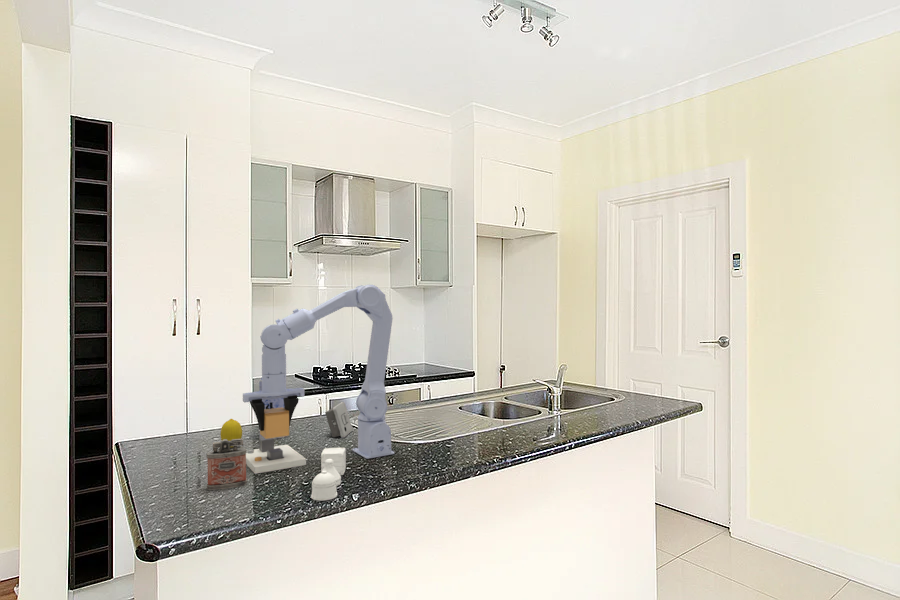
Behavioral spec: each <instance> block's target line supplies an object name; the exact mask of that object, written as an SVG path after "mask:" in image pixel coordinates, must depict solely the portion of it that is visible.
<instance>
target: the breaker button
mask: <svg viewBox="0 0 900 600" xmlns="http://www.w3.org/2000/svg"><path fill="white" fill-rule="evenodd" d="M282 458H283V451H282V450H281V449H280V448H276V449H270V450H267V459H268V460H269V461H270V460H276V459H282Z"/></svg>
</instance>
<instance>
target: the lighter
mask: <svg viewBox="0 0 900 600" xmlns="http://www.w3.org/2000/svg"><path fill="white" fill-rule="evenodd" d="M230 446H234V447H233V448H231V447H230ZM238 446H244V439H243V438H241V439H233V440H232V441H228V440H227V439H223V440H220V441H216V442H215V441H214V442H212V451H209V452H207V453H206V459H207V484H206V490H209V491H212V490H224V489H225V490H226V489H231V488H237V487H243V486H246V485H247V484H248V479H247V464H246V453H247V450H248V449H247V448H245V447H243V448H241V447H240V448H238ZM218 448H219V449H218Z"/></svg>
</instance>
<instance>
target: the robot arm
mask: <svg viewBox="0 0 900 600" xmlns="http://www.w3.org/2000/svg"><path fill="white" fill-rule="evenodd" d="M344 308H357V309H359V310H360V311H362V312H364V314H366V315H367V317H368V318H369V319H370V320H371V322H372V326H371V331H370V332H371V333H370V334H371V335H370V340H369V346H368V347H369V348H368V356H367V362H366V363H367V364H366V369H365V370H366V371H365V377H364V381H363V384H362V385H361V389H360V393H359V394H358V396H356V397H357V398H356V402H355V404H356V408H357V410H358V411H359V415H358V416H357V442H358V443H357V447H354V448H352V450H351V451H352V452H354V453H356V454H357V455H359V456H361V457H363V458H365V459H373V458H374V459H375V458H380V457H385V456H389V455H395V451H394V450H392V431H391V430H392V429H391V427H390V425H389V424H387V422H386V414H387V411H388V402H387V400H386V396H387V395H386V394H387V393H386V392H387V391H386V387H385V377H386V370H387V364H388V356H389V349H390V348H389V347H390V342H391V341H390V340H391V333H392V325H393V319H394V317H393V314H392V311H391V308H390V307H389V303H388V301H387V299H386V294H385V292H383V291H382V289H380V288H379V287H378V286H377V285H375V284H370V283H369V284H365V285H362V284H360V285H357V286H356V287H355V288H350V289H348V290H347V289H346V291H342V292H340V293H338V294H336V295H334V296H333V297H331V298H329V299H328V300H326V301H324V302H322V303H320V304H318V305H317V306H315V307H313V308H311V309H310V310H309V309H306V308H301V309H299V308H295V309H293V310H292V313H290V314H289V315H287V316H285V317H283V318H281V319H280V318H277V319H275V321H274V322H275V323H276V324H268V325H266V326H265V327H264V328H263V329H262V331H261V334H260V341H261V343H262V347H261V351H262V355H261V379H262V391H259V390H258V391H251V392H245V393H242V402H244V403H249V404H250V406H251V408H252V410H253V412H254V415H255V418H256V421H257V425H258V430H259V432H260V431H264V407H265V404H264V403H263V401H262V400H269V399H278V398H283V400H284V408H285V409H286V410H288V411H289V428H290V427H291V422H292V419H293V414H294V412H295V409H296V407H297V405H298V404H299V400H300V398H298V397H305V388H303V387H295V388H293V387H291V388H290V387H289V388H287V354H286V344H287V342H288V340H289V341H292V340H294V339H296V338H298V337H299V336H301V335H303V334H306V333H307V332H308V331H311V330H313V329H314V327H315V324H316V322H318V320H321V319H322V318H326V317H327V316H329V315H331V314H333V313H335V312H337V311H340V310H341V309H344ZM281 395H283V396H281ZM268 396H274V397H268Z"/></svg>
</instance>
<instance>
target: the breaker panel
mask: <svg viewBox="0 0 900 600" xmlns="http://www.w3.org/2000/svg"><path fill="white" fill-rule="evenodd" d="M276 448H280V449H281V450H282V451H283V458H282V459H276V460H270V461H269V460H268V459H267V450H270V449H276ZM306 465H307V459H306V458H305V456H303V455H302V454H300V453H299V452H298V451H297V450H295V449H293V448H292V447H291V446H290V445H288V444H280V445H275V439H273V438H268V439H265V438H259V439H258V448H255V449H247V453H246V466H247V467H248V468H249V469H250V470H251V471H252V472H253V473H254V474H256V475H257V474H261V473H268V472H273V471H278V470H284V469H290V468H297V467H303V466H306Z"/></svg>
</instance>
